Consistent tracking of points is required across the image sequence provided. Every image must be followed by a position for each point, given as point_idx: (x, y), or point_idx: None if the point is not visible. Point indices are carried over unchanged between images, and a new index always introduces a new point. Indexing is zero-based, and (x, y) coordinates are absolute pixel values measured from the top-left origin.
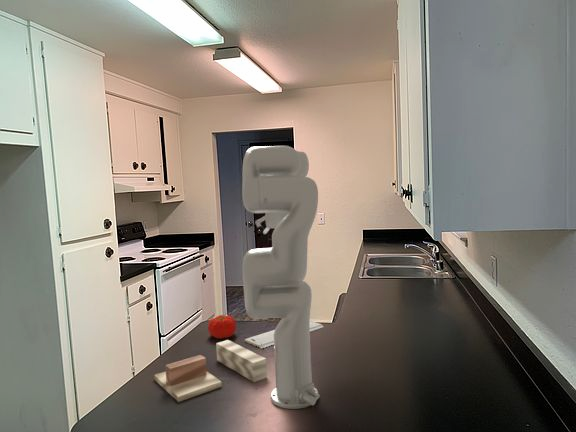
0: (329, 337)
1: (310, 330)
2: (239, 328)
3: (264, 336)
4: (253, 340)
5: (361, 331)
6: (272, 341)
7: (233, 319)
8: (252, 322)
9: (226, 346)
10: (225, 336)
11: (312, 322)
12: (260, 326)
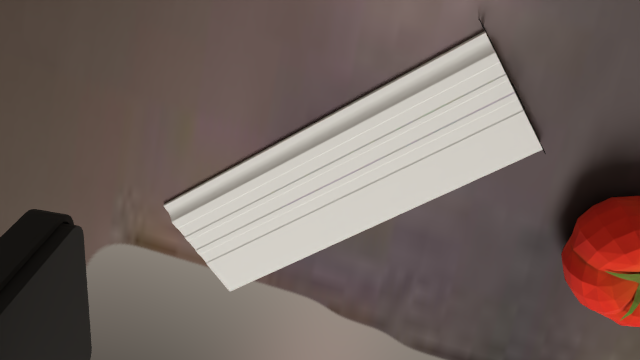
0: (157, 81)
1: (228, 178)
2: (522, 297)
3: (445, 156)
4: (517, 94)
5: (9, 108)
6: (422, 87)
7: (585, 279)
8: (453, 343)
9: None
10: (624, 197)
11: (206, 253)
12: (430, 292)
